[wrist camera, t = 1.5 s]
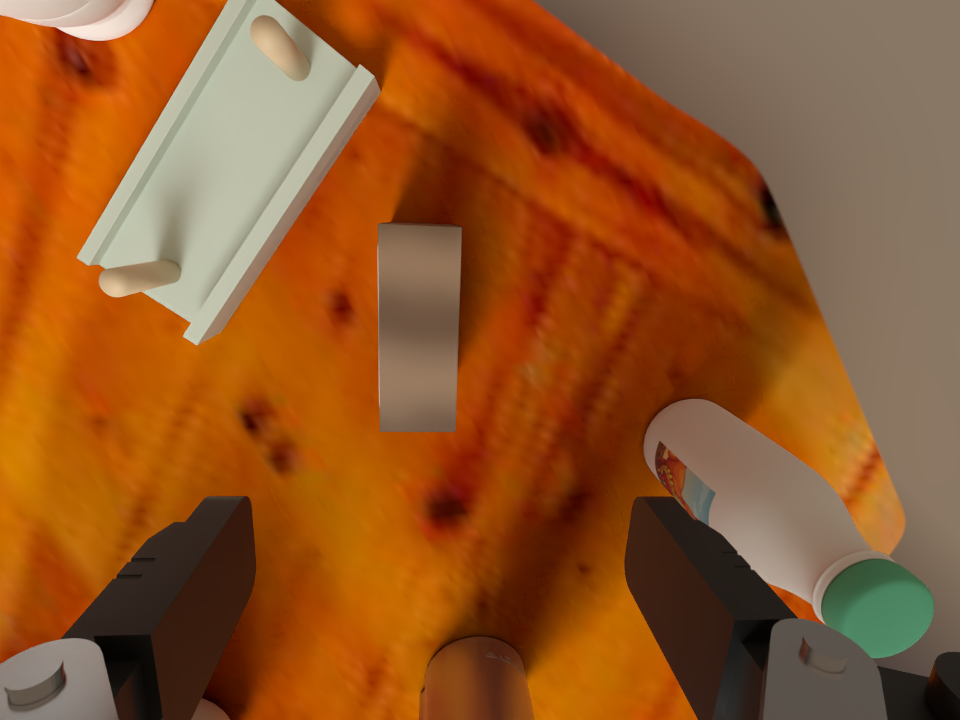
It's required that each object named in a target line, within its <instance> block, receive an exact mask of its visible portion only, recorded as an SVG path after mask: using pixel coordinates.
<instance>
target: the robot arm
mask: <svg viewBox="0 0 960 720" xmlns="http://www.w3.org/2000/svg"><path fill="white" fill-rule="evenodd" d="M255 572H256V558H255V545H254V532H253V519H252V507H251V502H250V499H249V498H248V497H247V496H208V497H206V498H205V499H204V500H203V501H202V502H201V503H200V504H199V506H198V507H197V508H196V509H195V511H194V512H193V513H192V514H191V516H190V517H189V518H188V519H187V521H186V522H174V523H173V524H171V525H169V526H168V527H166V528H165V529H163V530H162V531H160V532H158V533H157V534H155V535H154V536H152V537H151V538H149V539H148V540H147V541H146V542H145V543H144V544H143V546H142V547H141V548H140V549H139V550H138V551H137V552H136V554H135V555H134V556H133V557H132V558H131V562H128V563H127V564H126V565H125V566H124V567H123V568H122V570H121V571H120V572H119V573H118V574H117V578H116V579H113V580H112V581H111V582H110V583H109V584H108V586H107V587H106V588H105V589H104V590H103V591H102V592H101V594H100V595H99V596H98V597H97V598H96V599H95V600H94V601H93V603H92V604H91V605H90V606H89V607H88V608H87V609H86V611H85V612H84V613H83V614H82V615H81V616H80V617H79V619H78V620H77V621H76V622H75V623H74V624H73V625H72V627H71V628H70V629H69V630H68V631H67V632H66V633H65V635H64V636H63V637H62V638H61V639H60V640H55V641H51V642H47V643H44V644H41V645H38V646H35V647H32V648H30V649H28V650H26V651H23V652H21V653H19V654H17V655H15V656H13V657H11V658H10V659H8V660H6V661H5V662H3V663H2V664H0V720H191V719H192V717H193V715H194V713H195V711H196V709H197V707H198V704H199V702H200V700H201V698H202V696H203V694H204V692H205V690H206V688H207V686H208V683H209V681H210V679H211V677H212V675H213V673H214V671H215V669H216V667H217V665H218V663H219V660H220V658H221V656H222V654H223V652H224V650H225V648H226V646H227V644H228V642H229V640H230V637H231V635H232V633H233V631H234V629H235V627H236V625H237V623H238V621H239V619H240V616H241V614H242V612H243V610H244V608H245V606H246V604H247V602H248V600H249V598H250V595H251V592H252V589H253V585H254V580H255ZM625 575H626V580H627V584H628V587H629V589H630V592H631V594H632V595H633V597H634V599H635V601H636V603H637V605H638V607H639V609H640V611H641V612H642V614H643V616H644V618H645V620H646V622H647V624H648V626H649V628H650V629H651V631H652V633H653V635H654V637H655V639H656V641H657V643H658V645H659V646H660V648H661V650H662V652H663V654H664V656H665V658H666V660H667V662H668V663H669V665H670V667H671V669H672V671H673V673H674V675H675V677H676V679H677V680H678V682H679V684H680V686H681V688H682V690H683V692H684V694H685V696H686V697H687V699H688V701H689V703H690V705H691V707H692V709H693V711H694V713H695V715H696V716H697V718H698V720H960V652H946V653H943V654H941V655H939V656H938V657H937V658H936V660H935V663H934V666H933V668H932V671H931V674H930V676H929V677H924V676H920V675H915V674H911V673H906V672H902V671H897V670H892V669H888V668H884V667H880V666H876V664H875V662H874V661H873V660H872V658H871V657H870V656H869V655H868V654H867V653H866V652H865V651H864V650H863V649H862V648H861V647H860V646H859V645H858V644H856V643H855V642H854V641H852V640H851V639H850V638H848V637H846V636H845V635H843V634H842V633H840V632H838V631H836V630H834V629H832V628H830V627H828V626H825V625H823V624H820V623H817V622H814V621H810V620H805V619H798V617H797V616H796V615H795V614H794V613H793V612H792V611H791V610H790V609H789V608H788V606H787V605H786V604H785V603H784V602H783V601H782V600H781V599H780V598H779V597H778V596H777V594H776V593H775V592H774V591H773V590H772V589H771V588H770V587H769V586H768V585H767V583H766V582H765V581H764V580H763V579H762V578H761V577H760V576H759V575H758V574H757V572H756V571H755V570H751V566H750V565H749V564H748V563H747V561H746V560H745V559H744V558H743V557H742V556H741V555H738V553H737V550H736V549H735V548H734V547H733V546H732V545H731V544H730V543H729V542H728V541H727V540H726V538H725V537H724V536H723V535H722V534H720V533H719V532H717V531H716V530H714V529H713V528H711V527H709V526H708V525H706V524H705V523H703V522H702V521H700V520H694V519H693V518H692V517H691V516H690V515H689V514H688V512H687V511H686V510H685V509H684V508H683V507H682V505H681V504H680V503H679V502H678V501H677V500H676V499H675V498H674V497H637V498H636V499H635V501H634V503H633V507H632V513H631V520H630V526H629V533H628V540H627V547H626V553H625ZM419 720H535V719H534V714H533V709H532V704H531V699H530V694H529V690H528V685H527V680H526V675H525V671H524V666H523V662H522V660H521V658H520V656H519V654H518V653H517V652H516V651H515V650H514V648H512V647H511V646H509V645H508V644H507V643H505V642H503V641H500V640H498V639H494V638H490V637H477V636H476V637H469V638H464V639H461V640H458V641H455V642H453V643H451V644H449V645H447V646H445V647H444V648H443V649H442V650H440V651H439V652H438V653H437V654H436V655H435V656H434V658H433V659H432V660H431V662H430V664H429V666H428V668H427V671H426V675H425V689H424V691H423V692H422V693H421V694H420V705H419Z"/></svg>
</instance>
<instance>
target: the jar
mask: <svg viewBox="0 0 960 720" xmlns="http://www.w3.org/2000/svg"><path fill="white" fill-rule="evenodd" d="M153 2H154V0H0V15H3V16H8V17H12V18H15V19H18V20H22V21H25V22H29V23H34V24H38V25H44V26H51V27H56V28H58V29H60V30H61V31H63V32H65V33H68V34H70V35H72V36H75V37H78V38H82V39H87V40H95V41H104V40H111V39H116V38H119V37H121V36H124V35H126V34H128V33H130V32H131V31H132V30H134V29H135V28H136V27H138V26H139V25H140V24H141V22H142V21H143V20H144V19H145V17H146V16H147V14H148V13H149V11H150V9H151V7H152V4H153Z"/></svg>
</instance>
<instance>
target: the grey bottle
mask: <svg viewBox="0 0 960 720" xmlns="http://www.w3.org/2000/svg"><path fill="white" fill-rule="evenodd" d="M191 720H230V719H229V717H228V716H227V714H226V713H225V712H224V711H223V710H222V709H221V708H219V707H218V706H217V705H215V704H214V703H212V702H210V701H207V700H205V699H203V698H201V700H200V702H199V704H198V707H197V709H196V711H195V713H194V715H193V717H192V719H191Z"/></svg>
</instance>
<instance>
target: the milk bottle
mask: <svg viewBox="0 0 960 720" xmlns="http://www.w3.org/2000/svg"><path fill="white" fill-rule="evenodd" d="M644 456H645V460H646V463H647V465H648V467H649V468H650V469H651V471H652V472H653V473H654V475H655V476H656V477H657V478H658V480H659V481H660V482H661V483H662V484H663V485H664V487H665V488H666V489H667V490H668V491H669V492H670V494H671V495H672V496H673V497H674V498H675V499H676V500H677V501H678V502H679V503H680V504H681V505H682V507H683V508H684V509H685V510H686V511H687V512H688V514H689V515H690V516H691V517H692V518H693V519H694V520H700V521H702V522H703V523H705V524H706V525H708V526H709V527H711V528H713V529H714V530H716V531H717V532H719V533H720V534H722V535H723V536H724V537H725V538H726V540H727V541H728V542H729V543H730V544H731V545H732V546H733V547H734V548H735V549H736V550H737V553H738V555H741V556H742V557H743V558H744V559H745V560H746V561H747V563H748V564H749V565H750V566H751V570H755V571H756V572H757V574H758V575H759V576H760V577H761V578H762V579H763V580H764V581H765V582H767V583H769V584H772V585H774V586H777V587H780V588H782V589H785V590H787V591H789V592H792V593H793V594H795V595H797V596H799V597H801V598H802V599H804V600H806V601H807V602H809V603H810V604H812V606H813V609H814V612H815V614H816V616H817V617H818V618H819V619H820V620H821V621H822V622H823V623H825V624H826V625H827V626H828V627H830V628H832V629H834V630H836V631H838V632H840V633H842V634H843V635H845V636H846V637H848V638H850V639H851V640H852V641H854V642H855V643H856V644H858V645H859V646H860V647H861V648H862V649H863V650H864V651H865V652H866V653H867V654H868V655H869V656H870V657H871V658H881V657H888V656H892V655H894V654H897V653H899V652H902V651H904V650H905V649H907V648H909V647H910V646H912V645H913V644H914V643H915V642H917V641H918V640H919V639H920V638H921V637H922V635H923V634H924V633H925V632H926V630H927V629H928V627H929V625H930V623H931V621H932V618H933V614H934V599H933V596H932V594H931V592H930V590H929V589H928V588H927V587H926V585H925V584H924V583H923V582H922V581H921V580H919V579H918V578H917V577H916V576H915V575H913V574H912V573H911V572H909V571H908V570H907V569H905V568H904V567H902V566H901V565H899V564H897V563H895V561H894V560H893V559H892V558H890V557H889V556H888V555H886V554H884V553H881V552H877V551H873V550H872V549H871V548H870V546H869V545H868V544H867V543H866V541H865V540H864V539H863V537H862V536H861V534H860V533H859V531H858V530H857V528H856V526H855V524H854V522H853V520H852V518H851V516H850V514H849V512H848V510H847V508H846V506H845V504H844V503H843V501H842V500H841V498H840V497H839V495H838V494H837V493H836V491H835V490H834V489H833V488H832V487H831V486H830V485H829V483H828V482H827V481H826V480H825V479H823V478H822V477H821V476H820V475H819V474H818V473H817V472H816V471H814V470H813V469H812V468H810V467H809V466H808V465H806V464H805V463H804V462H802V461H801V460H800V459H798V458H797V457H795V456H794V455H793V454H791V453H790V452H788V451H787V450H785V449H784V448H782V447H781V446H779V445H778V444H776V443H775V442H773V441H772V440H770V439H769V438H768V437H766V436H765V435H763V434H762V433H760V432H759V431H757V430H756V429H754V428H753V427H751V426H749V425H748V424H746V423H745V422H743V421H742V420H740V419H739V418H737V417H736V416H734V415H733V414H731V413H730V412H728V411H727V410H725V409H724V408H722V407H720V406H719V405H717V404H715V403H713V402H711V401H708V400H704V399H686V400H681V401H678V402H676V403H673V404H671V405H669V406H667V407H666V408H664V409H663V410H662V411H661V412H659V413H658V414H657V415H656V416H655V418H654V419H653V420H652V421H651V423H650V425H649V427H648V428H647V431H646V434H645V437H644Z"/></svg>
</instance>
